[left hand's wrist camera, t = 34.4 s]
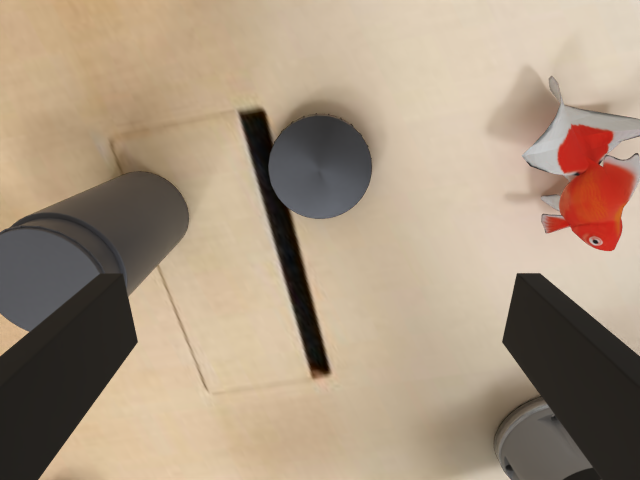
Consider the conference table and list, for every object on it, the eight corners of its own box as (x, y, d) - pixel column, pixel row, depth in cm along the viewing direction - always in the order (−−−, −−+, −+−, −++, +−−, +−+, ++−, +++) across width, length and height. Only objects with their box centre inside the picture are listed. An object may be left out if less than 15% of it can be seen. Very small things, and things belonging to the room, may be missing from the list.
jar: (184, 172, 37) (97, 225, 23) (192, 252, 41) (121, 343, 26) (96, 170, 37) (-48, 221, 23) (112, 250, 40) (-5, 340, 26)
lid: (353, 98, 35) (355, 99, 33) (380, 195, 38) (383, 202, 36) (256, 132, 36) (251, 135, 34) (290, 223, 39) (288, 231, 37)
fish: (497, 263, 36) (603, 257, 26) (472, 104, 37) (566, 43, 27) (580, 251, 39) (702, 242, 29) (556, 105, 40) (666, 51, 31)
